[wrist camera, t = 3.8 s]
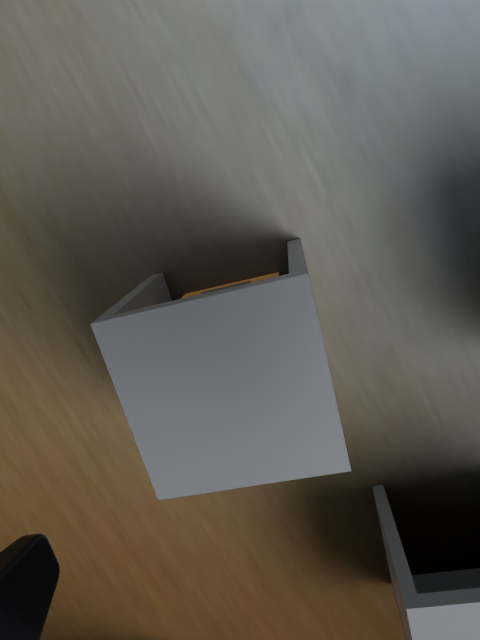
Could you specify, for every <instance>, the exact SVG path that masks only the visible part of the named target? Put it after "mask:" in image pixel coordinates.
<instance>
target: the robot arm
mask: <svg viewBox="0 0 480 640" xmlns="http://www.w3.org/2000/svg"><path fill="white" fill-rule="evenodd" d="M59 573H60V570H59V563H58V561H57V559H56V557H55V554H54V552H53V550H52V548H51V545H50V543H49V541H48V539H47V537H46V536H45V535H43V534H32V535H25V536H22V537H20V538H19V539H17V540H16V541H15V542H13V543H12V544H11V545H9V546H8V547H7V548H5V549H4V550H3V551H1V552H0V640H40V636H41V633H42V630H43V627H44V624H45V620H46V617H47V614H48V611H49V608H50V604H51V601H52V598H53V595H54V592H55V588H56V585H57V582H58V579H59Z"/></svg>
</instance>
